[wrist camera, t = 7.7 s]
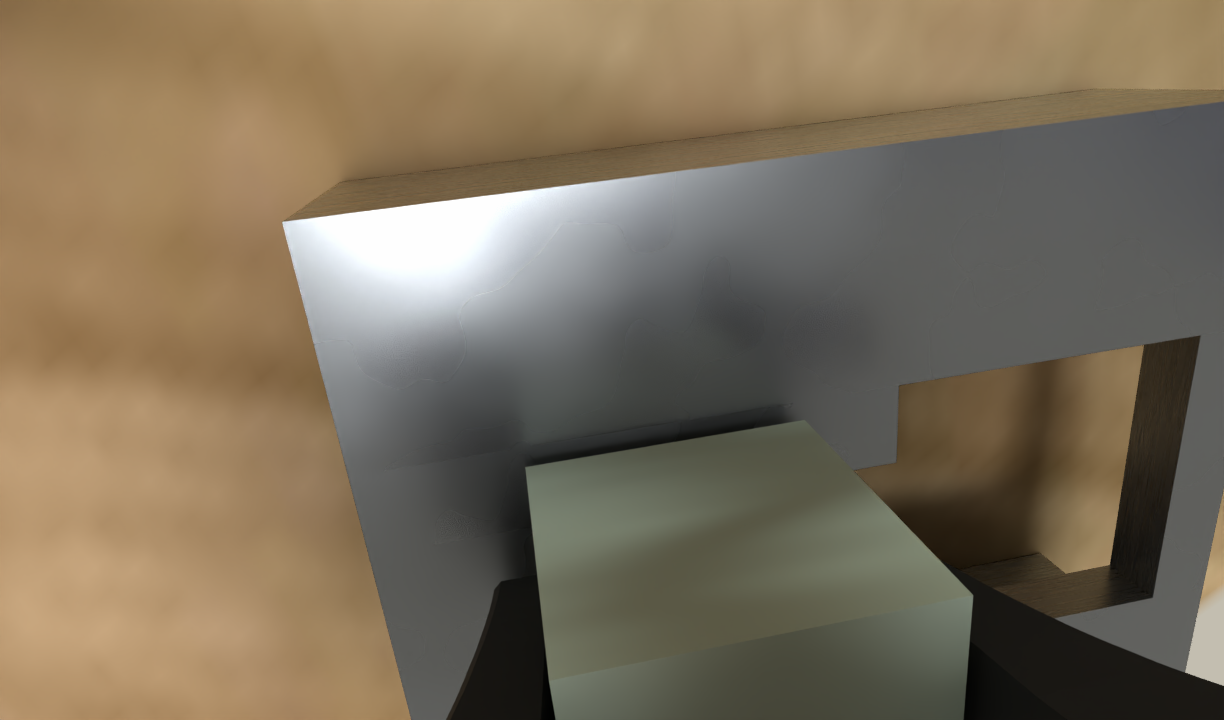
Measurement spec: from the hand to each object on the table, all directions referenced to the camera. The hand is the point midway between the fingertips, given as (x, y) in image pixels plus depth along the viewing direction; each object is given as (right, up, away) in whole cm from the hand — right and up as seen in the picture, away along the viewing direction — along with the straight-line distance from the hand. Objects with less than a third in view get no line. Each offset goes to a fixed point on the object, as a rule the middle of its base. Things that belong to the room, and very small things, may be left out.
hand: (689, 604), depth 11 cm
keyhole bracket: (+2, +2, +5) cm, 6 cm away
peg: (-1, +2, +3) cm, 4 cm away
